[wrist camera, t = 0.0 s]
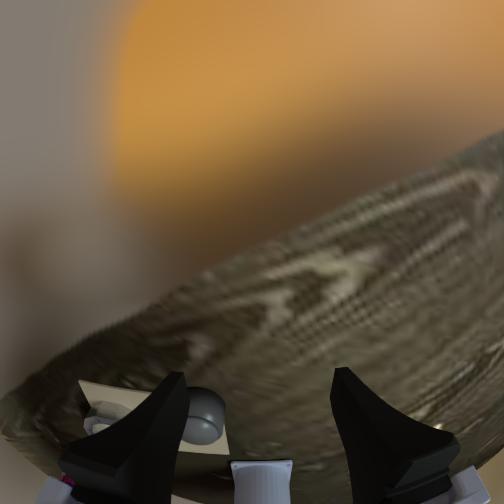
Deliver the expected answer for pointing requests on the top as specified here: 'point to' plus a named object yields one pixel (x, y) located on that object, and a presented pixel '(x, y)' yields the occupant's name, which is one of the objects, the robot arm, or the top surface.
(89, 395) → the mat
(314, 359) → the top surface
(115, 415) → the hollow grey tube
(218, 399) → the cap
